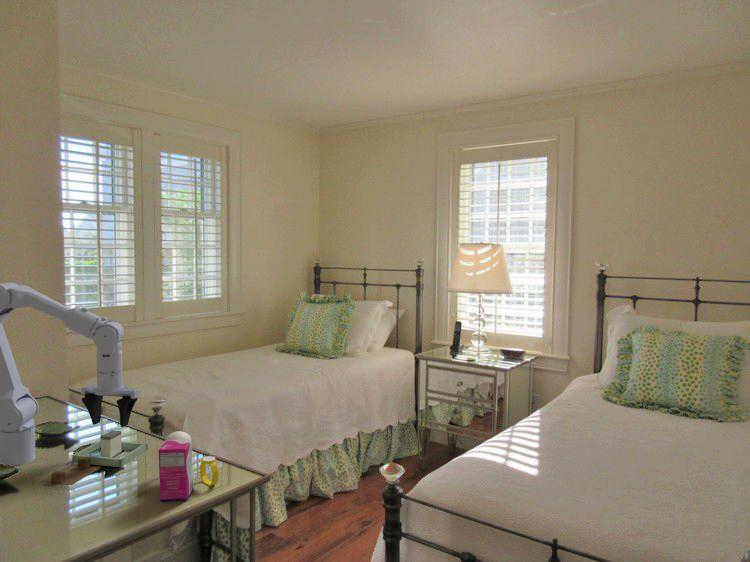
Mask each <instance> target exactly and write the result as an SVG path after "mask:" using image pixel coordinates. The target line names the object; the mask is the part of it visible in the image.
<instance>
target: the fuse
mask: <svg viewBox="0 0 750 562" xmlns="http://www.w3.org/2000/svg"><path fill="white" fill-rule="evenodd" d="M100 440H101V449H100V457H110V458H117V457H118V456H119V455H121V454H122V452H123V451H122V450H123V449H121V441H122V431H121V430H110V431H108V432H106V433H104V434H102V435H100Z"/></svg>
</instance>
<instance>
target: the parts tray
mask: <svg viewBox="0 0 750 562" xmlns="http://www.w3.org/2000/svg"><path fill="white" fill-rule="evenodd" d="M100 447H101V439H100V440H99V441H97V442H95V443H93V444H91V445H89V446H87V447H86V448H83V449H81V450H80V451H78V452H76V453H74V454H72V455H71V457H72V459H71V460H72V464H73V463H74V464H78V459H79V458H81V457H83V458H90V465H92V466H93V465H94V466H95V465H97V466H105V467H106V466H107V467H117V468H122V467H123V466H125V465H127V464H128V463H130V462H131V461H133V460H135V459H136V458H137V457H139V456H141V455H142V454H144V453H145V452H147V451H148V448H149V447H148V443H146V442H145V443H144V442H133V441H123V440H121V450H127V451H129V452H128V453H127V454H125V455H123V456H121V457H120V458H119V457H114V458H110V457H101V456H98V455H86V454H88V453H90V452H92V451H94V450H96V449H98V448H100Z"/></svg>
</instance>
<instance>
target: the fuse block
mask: <svg viewBox="0 0 750 562" xmlns="http://www.w3.org/2000/svg"><path fill="white" fill-rule="evenodd" d="M100 468H102V466H98V465H97V466H95V465H94V466H93V465H91V464H90V458H83V457H81V458H79V459H78V463H77V464H76V463H74V464H73V463H72V464H71V463H70V464H69V465H67V466H65V467H63V468H61V469H60V470H58V471H54V472H52V473H51V474H50V476H47V477H46V478H44V479H42V480H40V481H39V483H45V484H56V485H69V486H73V485H75V484H76V483H78V482H79V481H82V480H83V479H84V478H87V477H88V476H89V475H91V474H92V473H94V472H96V471H98V470H100Z"/></svg>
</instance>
